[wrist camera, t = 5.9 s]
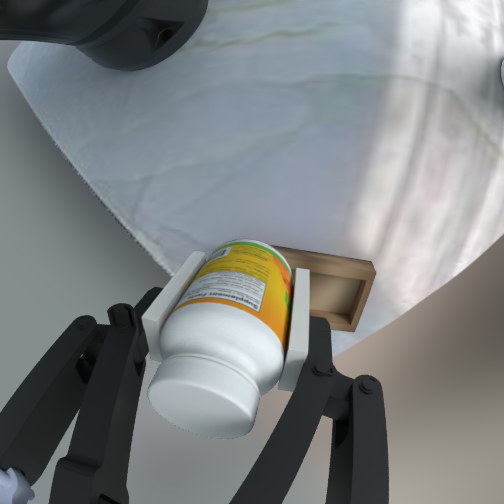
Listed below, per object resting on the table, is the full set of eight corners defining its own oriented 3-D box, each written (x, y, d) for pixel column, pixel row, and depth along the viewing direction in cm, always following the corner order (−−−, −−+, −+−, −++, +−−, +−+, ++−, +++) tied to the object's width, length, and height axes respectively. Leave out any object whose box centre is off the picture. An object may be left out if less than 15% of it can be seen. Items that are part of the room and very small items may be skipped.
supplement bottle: (283, 320, 18) (260, 456, 9) (205, 301, 18) (141, 421, 10) (302, 247, 15) (292, 394, 7) (210, 228, 16) (116, 344, 7)
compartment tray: (231, 299, 33) (226, 312, 31) (235, 239, 30) (229, 249, 28) (352, 318, 32) (354, 332, 29) (371, 261, 28) (376, 272, 26)
